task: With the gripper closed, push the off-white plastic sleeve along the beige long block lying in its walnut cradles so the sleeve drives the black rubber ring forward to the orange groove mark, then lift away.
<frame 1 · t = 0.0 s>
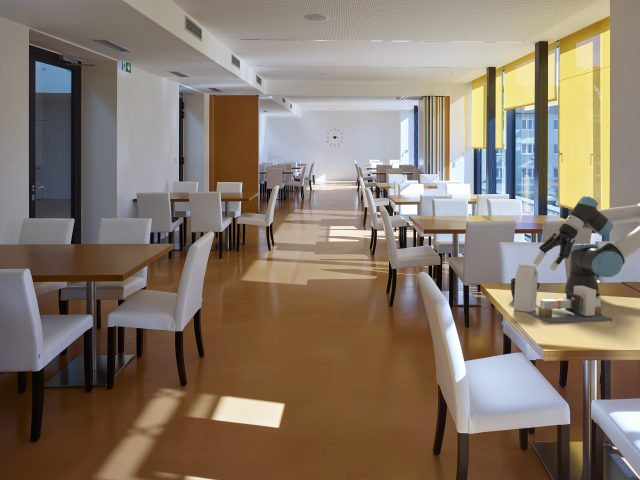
hand: (543, 266, 302), 15 cm above the table, tool tilted 35°, fingers open, 13 cm apart
board: (569, 316, 275), on the table
milk carton: (524, 310, 286), on the table
sleeve: (584, 300, 276), point 6 cm above the table, slide at -6.0 cm
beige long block: (570, 306, 275), on the board, point 4 cm above the table
ring: (572, 303, 275), point 6 cm above the table, slide at -1.0 cm
mug: (523, 301, 302), on the table
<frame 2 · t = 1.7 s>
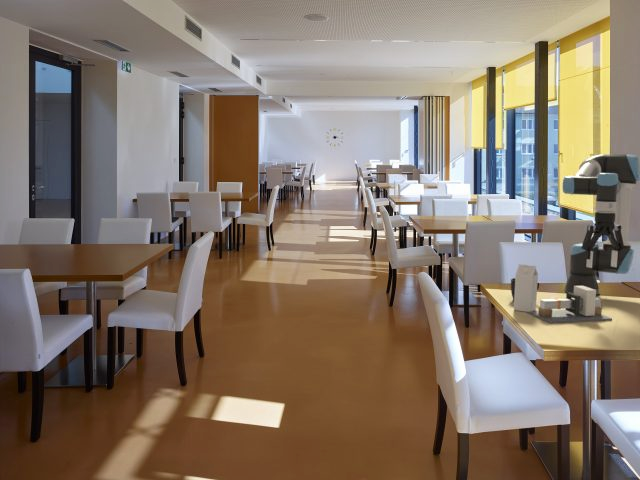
hand: (601, 267, 275), 20 cm above the table, tool pointing down, fingers open, 10 cm apart
nothing on the table moved.
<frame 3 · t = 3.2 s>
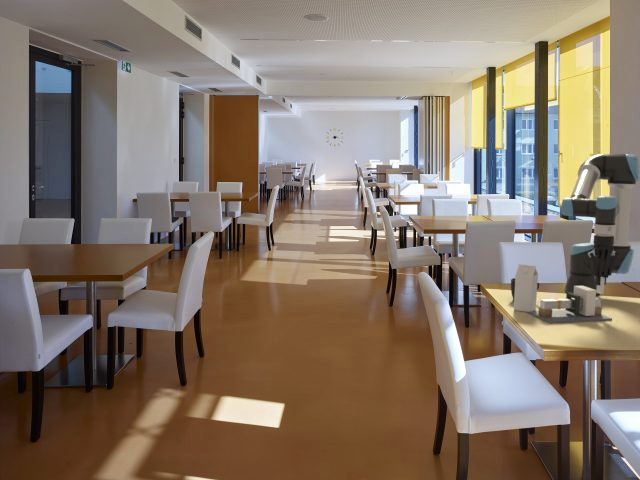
hand: (600, 293, 277), 9 cm above the table, tool pointing down, fingers closed
nothing on the table moved.
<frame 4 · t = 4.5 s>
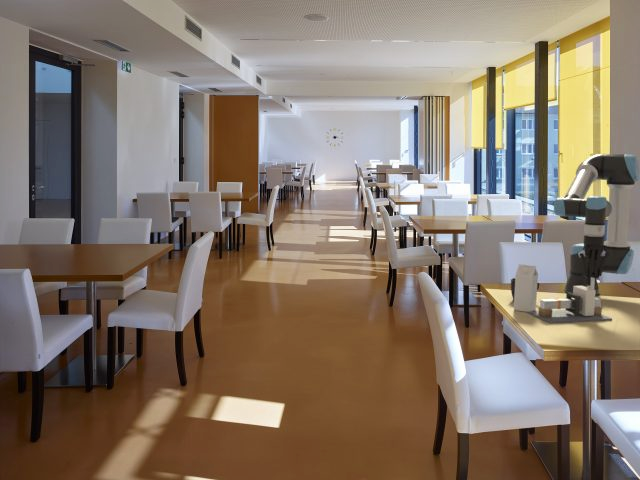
hand: (590, 293, 276), 9 cm above the table, tool pointing down, fingers closed
sleeve: (583, 300, 276), point 7 cm above the table, slide at -5.7 cm, touching gripper
everything else where it was.
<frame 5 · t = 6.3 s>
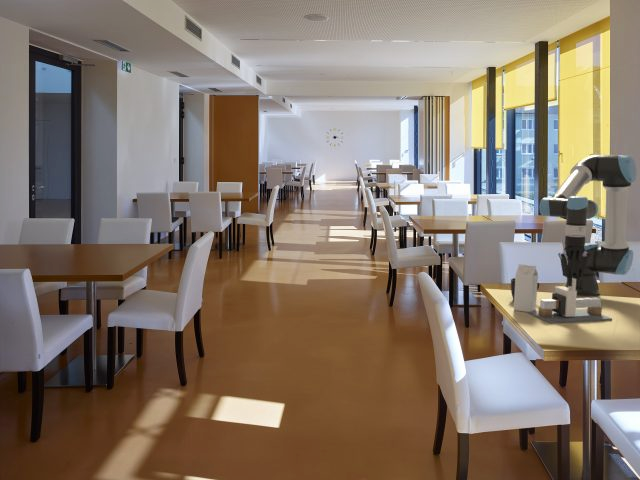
hand: (571, 294, 274), 9 cm above the table, tool pointing down, fingers closed
sleeve: (565, 301, 274), point 7 cm above the table, slide at 2.6 cm, touching gripper
ring: (558, 303, 273), point 6 cm above the table, slide at 5.4 cm
everything else where it was.
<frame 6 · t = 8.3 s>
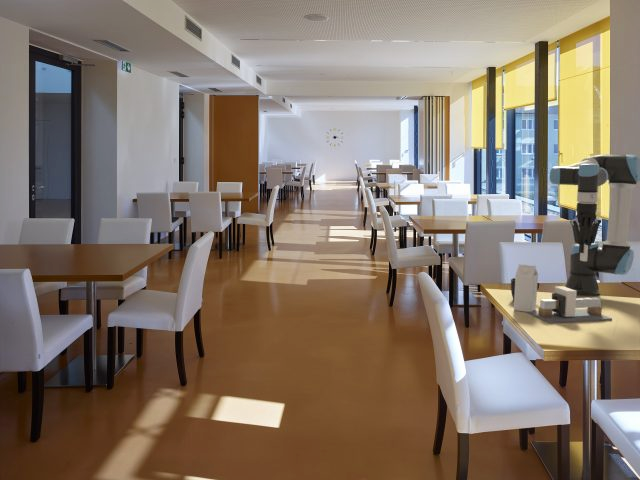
hand: (583, 260, 278), 22 cm above the table, tool pointing down, fingers closed
sleeve: (564, 301, 274), point 6 cm above the table, slide at 2.7 cm, touching ring
ring: (558, 303, 273), point 6 cm above the table, slide at 5.5 cm, touching sleeve
everything else where it was.
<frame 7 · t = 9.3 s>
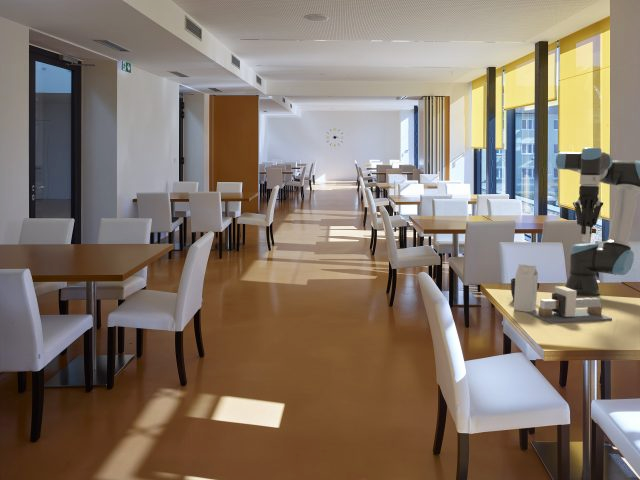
hand: (585, 242, 286), 28 cm above the table, tool pointing down, fingers closed
nothing on the table moved.
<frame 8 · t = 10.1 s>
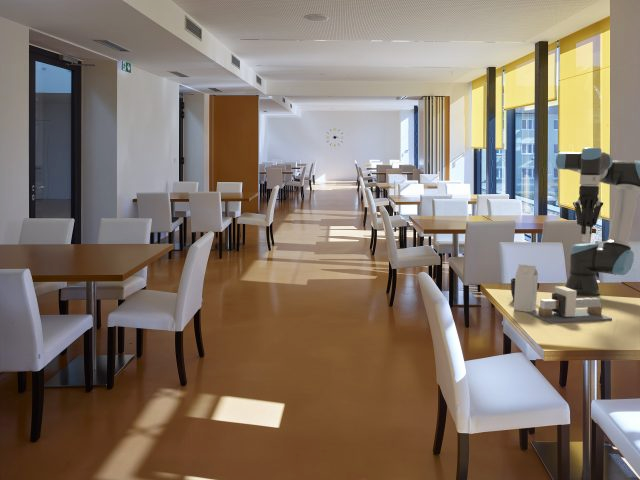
hand: (585, 242, 286), 28 cm above the table, tool pointing down, fingers closed
nothing on the table moved.
at the end: ring slide at 5.5 cm; sleeve slide at 2.7 cm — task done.
